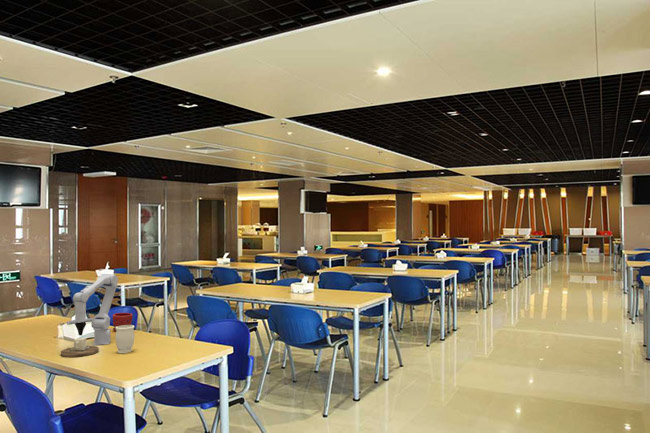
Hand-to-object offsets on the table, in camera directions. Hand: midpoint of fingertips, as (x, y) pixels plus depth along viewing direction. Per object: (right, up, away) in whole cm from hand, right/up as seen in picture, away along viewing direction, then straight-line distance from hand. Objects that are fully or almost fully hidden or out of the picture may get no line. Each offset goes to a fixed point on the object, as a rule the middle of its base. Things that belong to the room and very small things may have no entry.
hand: (80, 335), depth 294 cm
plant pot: (+3, -10, +54) cm, 55 cm away
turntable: (+4, -9, -7) cm, 12 cm away
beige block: (+4, -7, -9) cm, 12 cm away
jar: (+29, -9, -5) cm, 31 cm away
